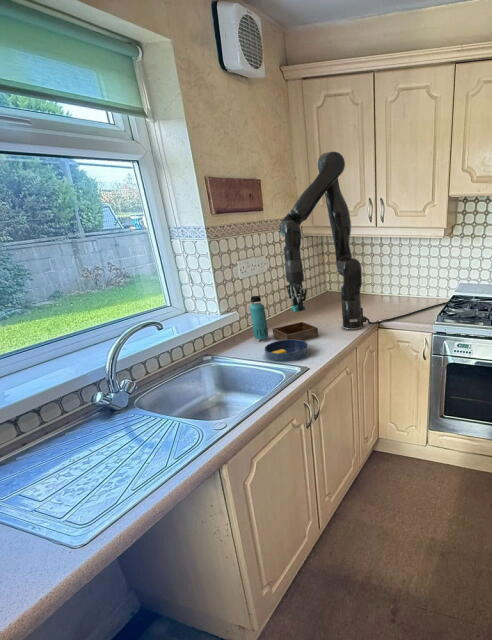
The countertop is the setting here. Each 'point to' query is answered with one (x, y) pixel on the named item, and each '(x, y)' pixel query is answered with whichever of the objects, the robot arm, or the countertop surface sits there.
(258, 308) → the beverage bottle
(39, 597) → the countertop surface
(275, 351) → the block
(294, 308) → the block
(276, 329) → the box
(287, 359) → the bowl
